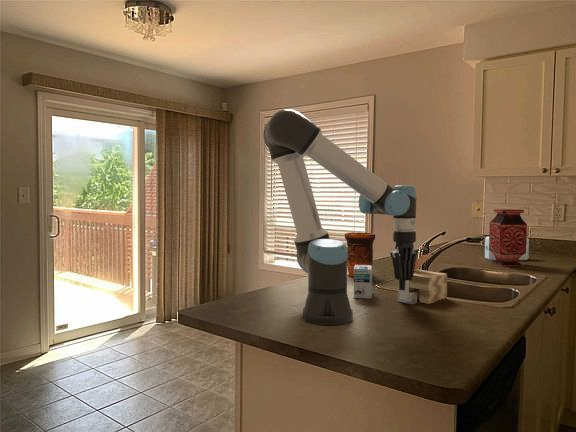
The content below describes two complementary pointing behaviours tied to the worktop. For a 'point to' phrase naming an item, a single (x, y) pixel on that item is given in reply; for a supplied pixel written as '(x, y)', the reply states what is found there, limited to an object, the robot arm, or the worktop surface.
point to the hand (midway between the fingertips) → (404, 298)
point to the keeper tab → (421, 260)
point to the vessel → (359, 250)
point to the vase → (507, 237)
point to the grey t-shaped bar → (410, 297)
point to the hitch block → (429, 285)
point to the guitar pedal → (490, 256)
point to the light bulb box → (363, 281)
